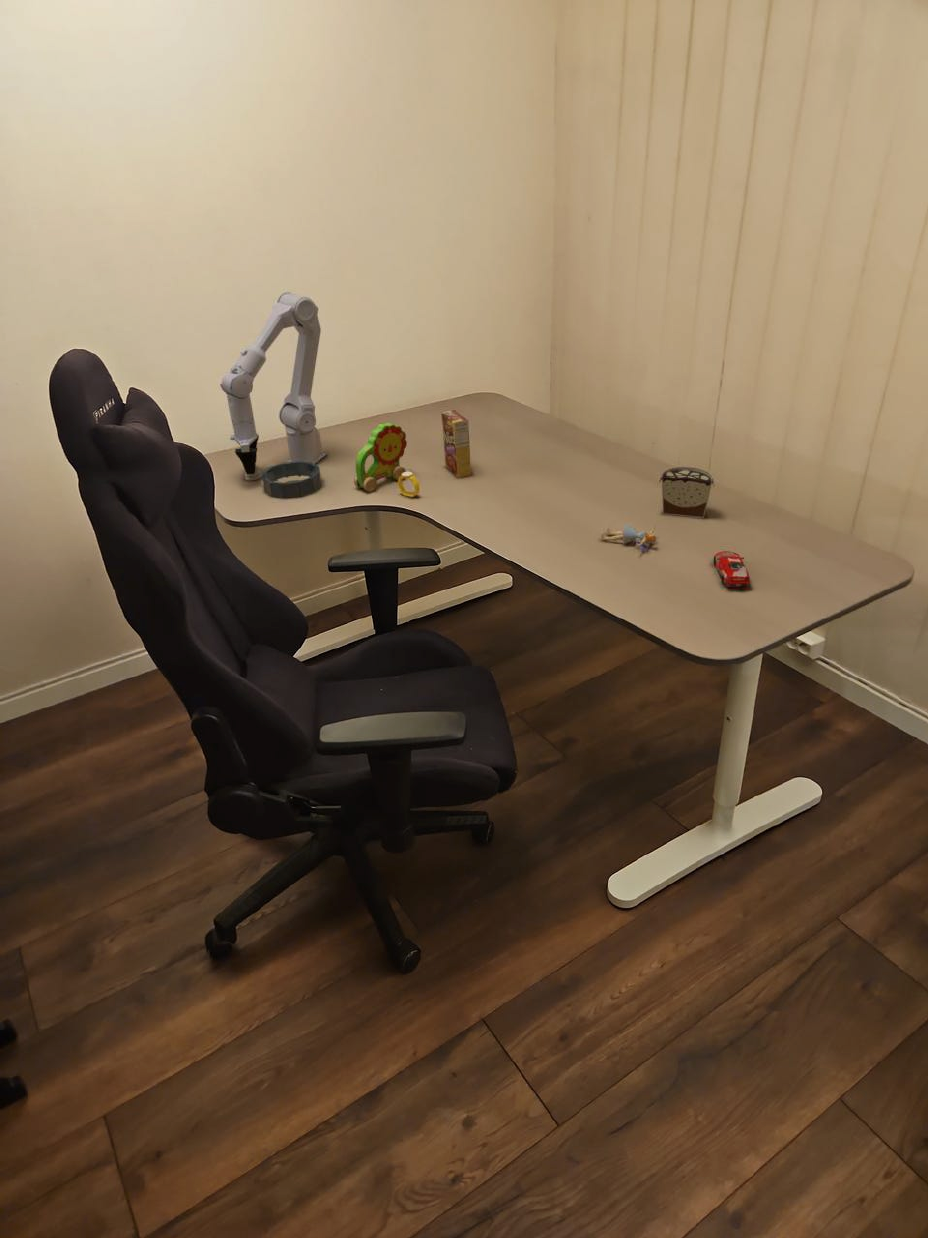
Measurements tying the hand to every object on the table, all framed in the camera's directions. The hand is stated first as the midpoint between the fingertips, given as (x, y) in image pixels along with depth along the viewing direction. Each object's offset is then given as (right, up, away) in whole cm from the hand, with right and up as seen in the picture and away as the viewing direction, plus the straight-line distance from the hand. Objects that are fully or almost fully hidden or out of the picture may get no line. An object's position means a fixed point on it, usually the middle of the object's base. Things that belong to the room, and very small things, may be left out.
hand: (251, 468), depth 235 cm
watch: (+43, -9, -12) cm, 46 cm away
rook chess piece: (0, -3, +2) cm, 3 cm away
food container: (+109, -15, -26) cm, 113 cm away
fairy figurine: (+93, -24, -39) cm, 104 cm away
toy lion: (+36, -5, -4) cm, 36 cm away
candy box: (+55, -1, 0) cm, 55 cm away
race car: (+112, -31, -53) cm, 128 cm away
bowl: (+12, -6, -4) cm, 14 cm away
